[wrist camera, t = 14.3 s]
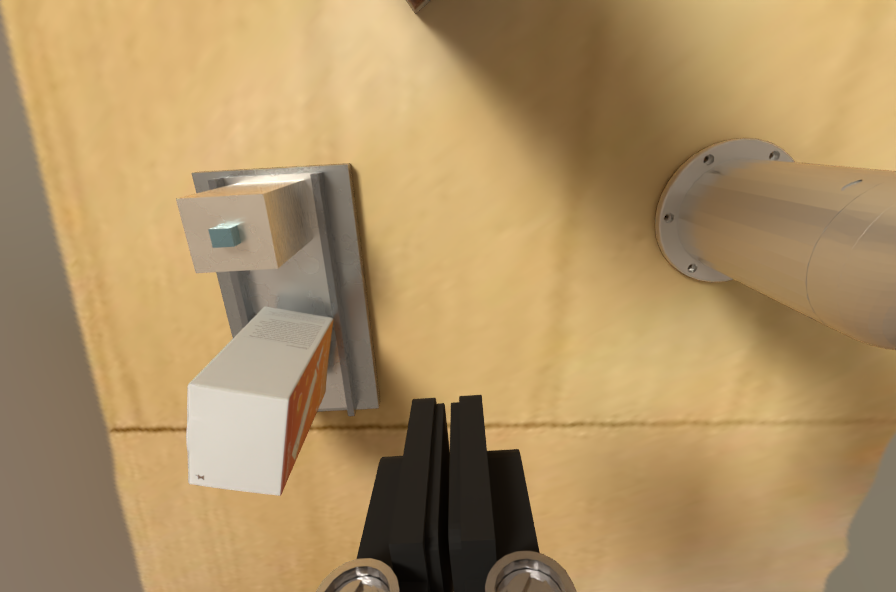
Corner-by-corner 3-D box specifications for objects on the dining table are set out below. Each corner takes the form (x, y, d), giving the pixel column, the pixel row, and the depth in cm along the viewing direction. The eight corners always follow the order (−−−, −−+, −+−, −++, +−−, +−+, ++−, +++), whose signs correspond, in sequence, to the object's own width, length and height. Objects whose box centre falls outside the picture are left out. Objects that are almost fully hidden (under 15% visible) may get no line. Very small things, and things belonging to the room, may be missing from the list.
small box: (327, 392, 42) (281, 499, 30) (259, 381, 41) (184, 486, 29) (336, 315, 39) (289, 399, 27) (263, 303, 39) (183, 383, 26)
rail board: (350, 163, 37) (314, 175, 27) (380, 401, 46) (361, 484, 35) (198, 171, 37) (101, 187, 27) (256, 408, 46) (200, 492, 35)
